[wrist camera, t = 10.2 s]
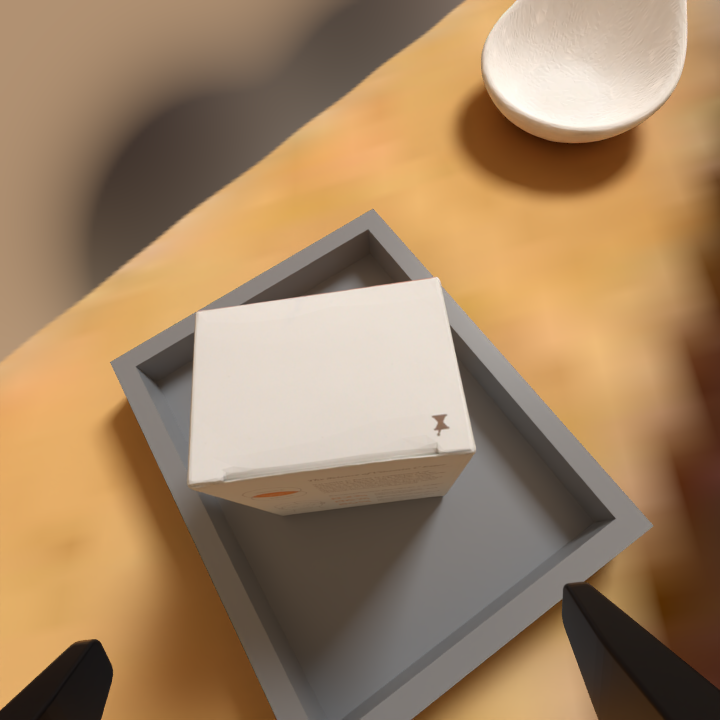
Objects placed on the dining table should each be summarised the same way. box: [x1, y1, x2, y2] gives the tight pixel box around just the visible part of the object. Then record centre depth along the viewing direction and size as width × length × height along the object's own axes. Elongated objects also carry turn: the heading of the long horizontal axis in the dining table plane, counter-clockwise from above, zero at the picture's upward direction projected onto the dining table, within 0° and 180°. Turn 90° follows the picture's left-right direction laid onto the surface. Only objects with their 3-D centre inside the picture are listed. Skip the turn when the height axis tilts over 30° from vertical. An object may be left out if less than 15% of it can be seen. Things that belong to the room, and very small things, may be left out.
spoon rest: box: [481, 0, 687, 143], centre depth 31 cm, size 24×12×7 cm, turn 152°
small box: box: [187, 277, 476, 516], centre depth 18 cm, size 8×6×10 cm
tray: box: [110, 209, 653, 720], centre depth 22 cm, size 20×16×3 cm
